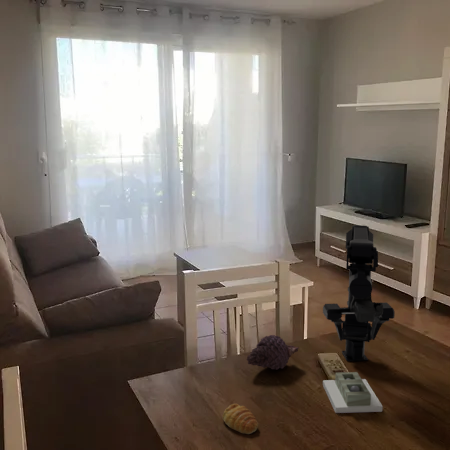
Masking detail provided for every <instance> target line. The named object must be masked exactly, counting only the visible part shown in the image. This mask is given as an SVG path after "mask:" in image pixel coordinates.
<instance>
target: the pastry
mask: <svg viewBox="0 0 450 450" xmlns="http://www.w3.org/2000/svg"><path fill="white" fill-rule="evenodd" d="M222 420H223V421H224V423H225V425H227V427H229V428H230V429H232V430H234V431H236V432H238V433H241V434H246V435H250V434H254V433H255V432H256V431H257V430H258V428H259V423H258V421H257V418H256V417H255V415H254V413H252V411H251V410H250V409H249V408H247V407H246V406H245V405H239V404H238V403H232V404H230V405H229V406H228V407H226V408H225V410H224V411H223V414H222Z"/></svg>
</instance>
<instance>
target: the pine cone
mask: <svg viewBox="0 0 450 450" xmlns="http://www.w3.org/2000/svg"><path fill="white" fill-rule="evenodd" d="M299 349H300V346H298V347H297V346H294V345H288V344H286V342H285V340H284V339H283V338H281V336H278V335H275V334H269V335H265V336H264V337H262V338H261V339H260V341H259V342H258V343H257V344H256V346H255V348H253V349H252V350H251V351H250V353H249V354H247V358H246V361H247V364H248V365H251V366H257V367H261V368H266V367H267V368H268V369H270V370H279V369H284V367H286V366H287V364H288V362H289V359H290V357H292V356H293V354H295V353H297V352H298V351H299Z"/></svg>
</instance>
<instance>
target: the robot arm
mask: <svg viewBox="0 0 450 450" xmlns="http://www.w3.org/2000/svg"><path fill="white" fill-rule="evenodd" d="M369 227H370V226H368V225H360V224H355V225H352V226H351V229H350V230H349V231H347V232H346V233H345V249H346V262H345V263H346V265H345V269H346V270H347V271H349V273H348V276H349V278H348V287H347V291H348V299H347V301H346V306H347V307H345V306H344V307H340V305H339V304H338V303H325V304H324V305H323V306H322V313H323V315H324V316H325V318H326V320H328V321H330V322H331V323H333V324H334V327H335V330H336V333H337V336H338V339H339V341H340V342H342V341H343V340H345V350H341V353H342V355H343V357H344V358H345V360H346V362H358V361H359V362H364V361H365V362H366V361H367V362H368V361H369V360H368V359H369V358H368V357H367V355H366V354H365V344H366V343H370V341H372V340H373V341H374V340H375V339H376V337H377V335H378V334H379V331H380V329H381V327H382V326H383V324H384V323H386V322H389V321H390V319H395V315H396V314H395V309H394V308H393V307H392V306H391V305H390V303H388V302H375V301H374V302H373V299H372V293H373V282H372V278H371V277H372V272H376V270H377V268H378V267H379V250H377V249H378V248H377V247H376V246H375V245H374V233H373V232H371V230H370V228H369ZM343 315H344V320H343V319H342V317H343Z"/></svg>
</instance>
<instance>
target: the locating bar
mask: <svg viewBox="0 0 450 450" xmlns="http://www.w3.org/2000/svg"><path fill="white" fill-rule="evenodd" d="M334 376H335V377H334V380H335V383H336V385H337V387H338V389H339V391H340V393H341V395H342V397H343V399H344V401H345V403H346V405H347V406H369V405H370V404H371V394H370V392H369V391H368V389H367V387H366V386H365V384H364V383H363V381H362V379H363V378H362V377H361V375H360V374H359V373H358V371H352V372H351V371H349V372H348V371H347V372H345V371H343V372H335V375H334ZM347 378H350V380H346V379H347ZM352 386H357V387H359V389H360V392H350V389H351V387H352Z"/></svg>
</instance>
